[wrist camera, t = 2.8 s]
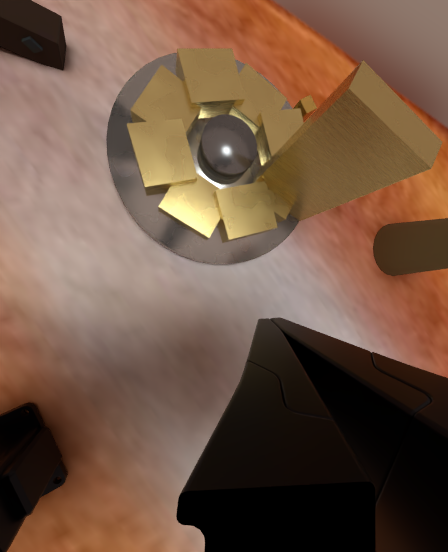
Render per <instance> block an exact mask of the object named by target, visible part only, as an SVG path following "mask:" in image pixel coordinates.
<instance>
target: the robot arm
mask: <svg viewBox="0 0 448 552" xmlns="http://www.w3.org/2000/svg"><path fill="white" fill-rule="evenodd" d="M25 409H26V410H28V411H29V413H28V414H26V413H24V410H25ZM61 457H62V455H61V453H60V451H59V449H58V447H57V445H56V443H55V440H54V438H53V436H52V434H51V432H50V430H49V428H48V427H46V426H45V425H44V423H43V420H42V418H41V416H40V414H39V412H38V410H37V408H36V406H35V405H34V404H32V403H26V404H23V405H21V406H19V407H17V408H14V409H12V410H10V411H8V412H6V413H3V414H1V415H0V552H7V551H8V549H9V547H10V545H11V543H12V542H13V540H14V538H15V536H16V534H17V533H18V531H19V529H20V527H21V525H22V524H23V522H24V520H25V518H26V517H27V516H29V515H30V514H31V513H32V512H33V510H34V508H35V506H36V504H37V503H38V501H39V499H40V497H42V496H44V495H46V494H47V493H49V492H51V491H53V490H55V489H56V488H58V487H60V486H61V485H63V484H64V482H65V480H66V478H67V475H68V474H67V471H66V468H65V466H64V464H63V462H62V460H61ZM56 477H61V479H57V478H56ZM177 520H178V522H179V523H180V524H182V525H191V526H195V527H196V528H198V529H200V530H201V532H202V533H203V535H204V537H205V552H448V378H446V377H443V376H440V375H437V374H434V373H431V372H428V371H425V370H422V369H419V368H416V367H413V366H410V365H407V364H405V363H402V362H399V361H396V360H393V359H391V358H388V357H385V356H382V355H380V354H377V353H374V352H372V353H371V352H370V351H368V350H365V349H362V348H360V347H357V346H355V345H352V344H349V343H347V342H344V341H341V340H339V339H336V338H333V337H331V336H328V335H325V334H323V333H320V332H317V331H315V330H312V329H309V328H307V327H304V326H301V325H299V324H296V323H293V322H291V321H288V320H285V319H283V318H271V319H268V318H267V319H259V320H258V322H257V326H256V330H255V333H254V337H253V340H252V344H251V347H250V351H249V355H248V358H247V362H246V364H245V368H244V371H243V374H242V377H241V379H240V382H239V384H238V386H237V388H236V390H235V392H234V394H233V396H232V398H231V400H230V402H229V404H228V406H227V408H226V409H225V411H224V413H223V415H222V417H221V419H220V421H219V423H218V424H217V426H216V428H215V430H214V432H213V434H212V436H211V438H210V439H209V441H208V443H207V445H206V447H205V449H204V451H203V453H202V454H201V456H200V458H199V460H198V462H197V464H196V466H195V468H194V469H193V471H192V473H191V475H190V477H189V479H188V481H187V483H186V484H185V486H184V488H183V490H182V492H181V494H180V496H179V499H178V507H177Z"/></svg>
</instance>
